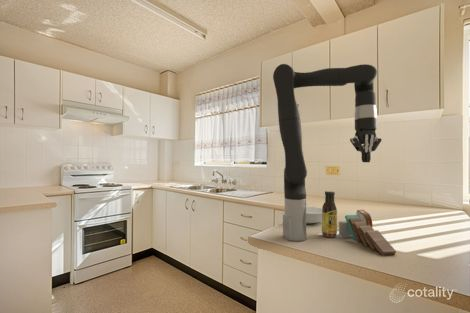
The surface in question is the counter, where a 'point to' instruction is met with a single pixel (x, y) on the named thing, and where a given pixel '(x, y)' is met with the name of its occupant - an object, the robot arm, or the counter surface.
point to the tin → (364, 217)
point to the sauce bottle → (329, 215)
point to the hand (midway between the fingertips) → (366, 162)
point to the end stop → (344, 229)
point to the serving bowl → (313, 214)
